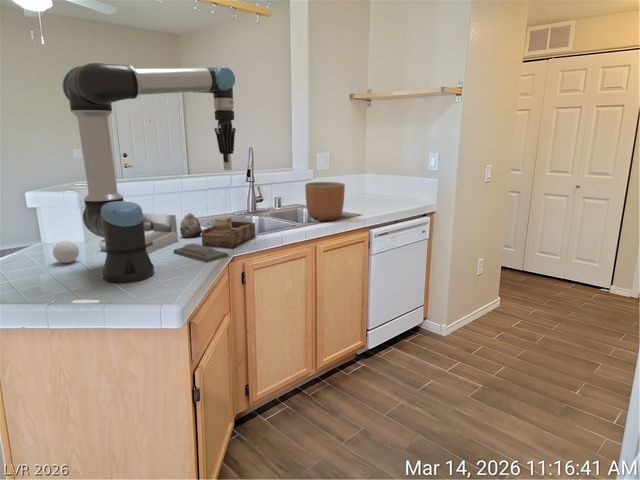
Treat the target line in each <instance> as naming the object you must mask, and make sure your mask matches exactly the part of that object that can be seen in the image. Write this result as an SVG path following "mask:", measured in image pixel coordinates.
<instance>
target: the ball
mask: <svg viewBox="0 0 640 480" xmlns="http://www.w3.org/2000/svg"><path fill="white" fill-rule="evenodd" d="M52 255H53V257H54V259H55V260H56V261H57V262H58V263H59V262H60V263H61V264H70V263H72V262H75V261H76V260H77V259H78V257H79V255H80V249H79V246H78V245H77V244H76V243H75V242H73V241H71V240H62V241H59V242H58V243H56V244H55V245H54V246H53V249H52Z"/></svg>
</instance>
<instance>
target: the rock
mask: <svg viewBox="0 0 640 480" xmlns="http://www.w3.org/2000/svg"><path fill="white" fill-rule="evenodd" d="M179 230H180V235H181V236H182V237H185V238H191V237H194V236H195V237H200V236H201V235H202V233H201V230H203V229H202V228H201V223H200V221H199V219H198V218H196V217H195V215H194V214H193V213H190V212H189V213H187V215H185V216H184V217H183V220H181V222H180V228H179Z"/></svg>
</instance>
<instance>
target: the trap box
mask: <svg viewBox="0 0 640 480" xmlns="http://www.w3.org/2000/svg"><path fill="white" fill-rule="evenodd" d="M254 237H255V238H256V222H250V221H236V220H235V221H234V220H232V229H230V230H228V231H216V230H215V224H214V225H211V226H209V227H207V228H204V229H202V230H201V243H202V244H201V246H206V247H210V248H220V247H221V248H223V249H235V248H237V247H239V246H241V245H243V244H244V243H247V242H248V241H250V240H253V239H255V238H254ZM221 248H220V249H221Z"/></svg>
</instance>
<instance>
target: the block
mask: <svg viewBox="0 0 640 480" xmlns="http://www.w3.org/2000/svg"><path fill="white" fill-rule="evenodd" d="M232 221H233V219H232V217H229V216H220V217H216V218H214V225H215V230H216V231H228V230H230V229H232Z"/></svg>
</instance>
